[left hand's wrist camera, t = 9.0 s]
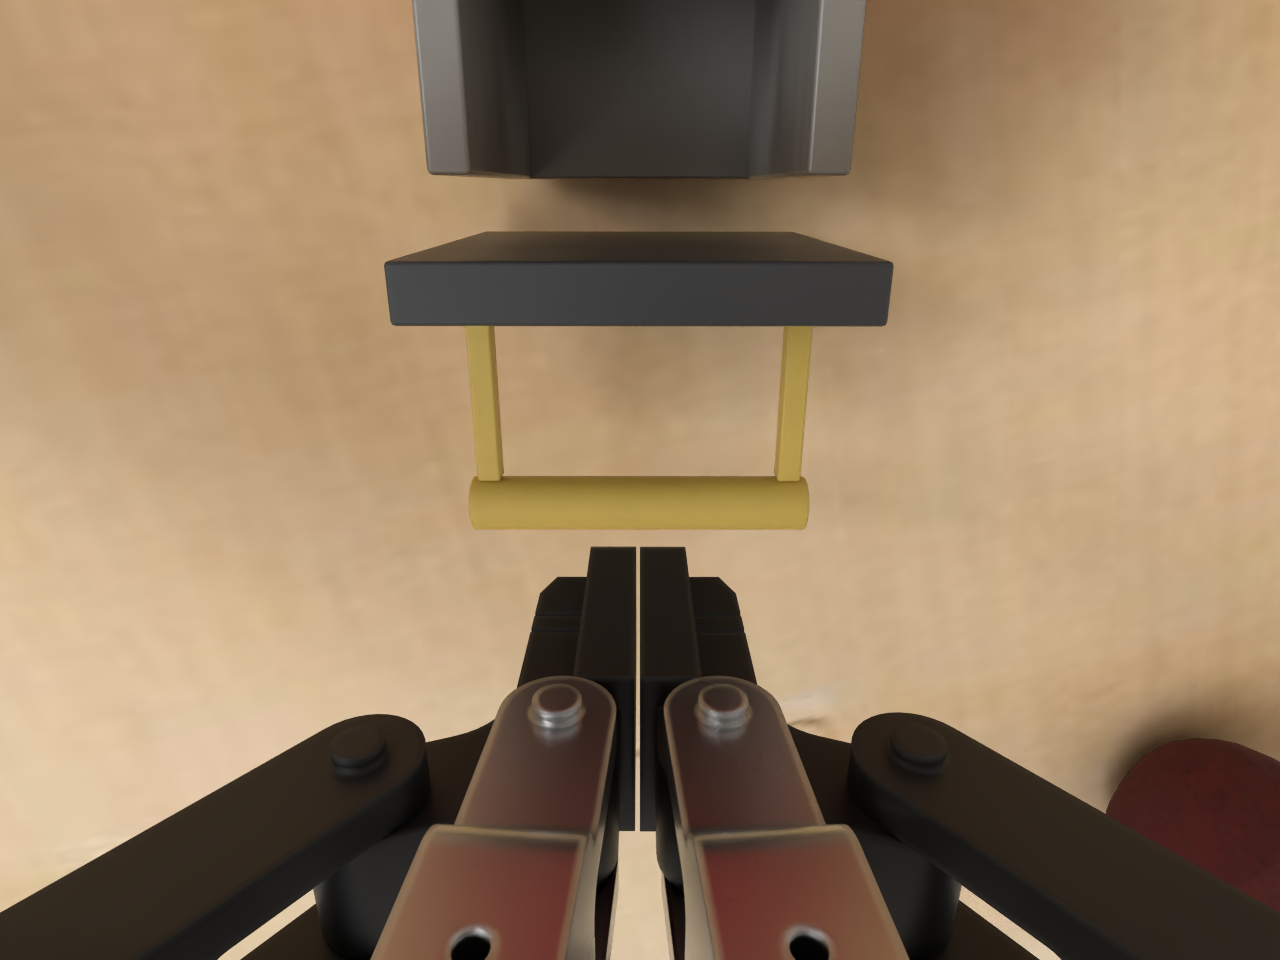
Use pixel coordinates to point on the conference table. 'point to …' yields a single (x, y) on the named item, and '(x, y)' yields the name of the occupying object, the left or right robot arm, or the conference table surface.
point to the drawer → (639, 261)
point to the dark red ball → (1210, 810)
